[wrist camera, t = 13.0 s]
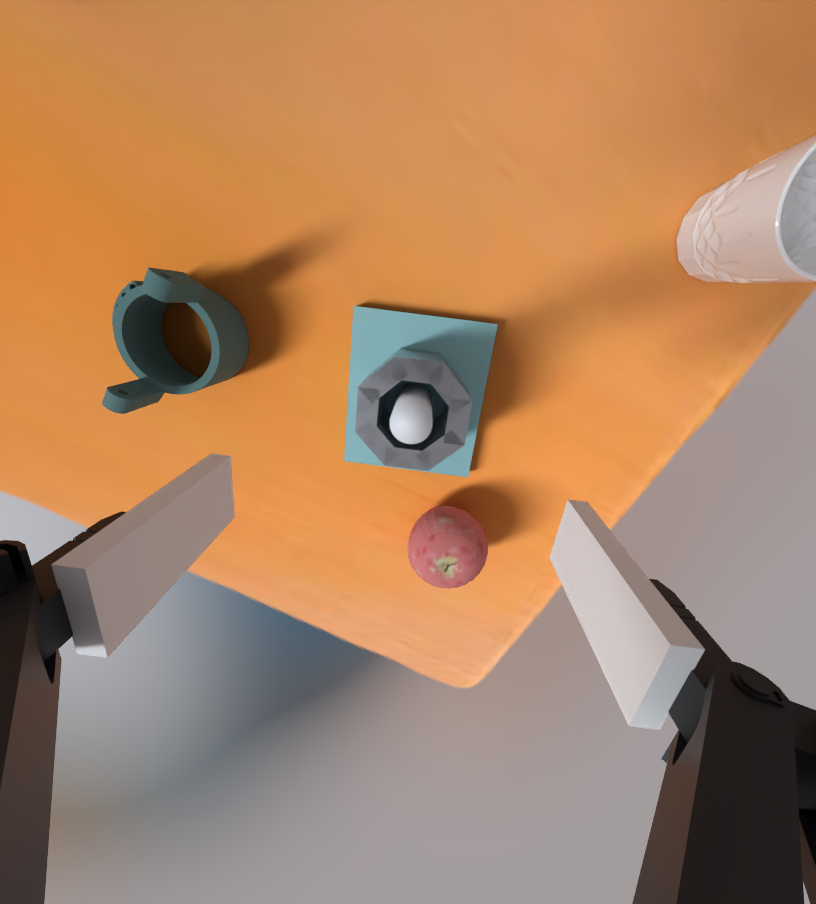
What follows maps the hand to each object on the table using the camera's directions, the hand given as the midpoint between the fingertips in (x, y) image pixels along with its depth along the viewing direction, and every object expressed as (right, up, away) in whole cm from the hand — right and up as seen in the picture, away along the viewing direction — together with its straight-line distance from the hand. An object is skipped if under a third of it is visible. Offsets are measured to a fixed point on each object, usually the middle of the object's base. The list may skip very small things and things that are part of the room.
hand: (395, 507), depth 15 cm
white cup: (+25, +19, +14) cm, 34 cm away
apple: (+4, -5, +25) cm, 26 cm away
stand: (+1, +7, +20) cm, 21 cm away
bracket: (-18, +13, +19) cm, 29 cm away
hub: (+1, +7, +19) cm, 20 cm away
